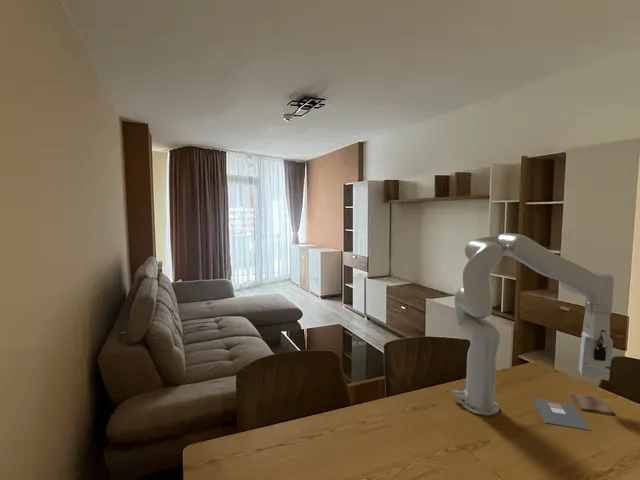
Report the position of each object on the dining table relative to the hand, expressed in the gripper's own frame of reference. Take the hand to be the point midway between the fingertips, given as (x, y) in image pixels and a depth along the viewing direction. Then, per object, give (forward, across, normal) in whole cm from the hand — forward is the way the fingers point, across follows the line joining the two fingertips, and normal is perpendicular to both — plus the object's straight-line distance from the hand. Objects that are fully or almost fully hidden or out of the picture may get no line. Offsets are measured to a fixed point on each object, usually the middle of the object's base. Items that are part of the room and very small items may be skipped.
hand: (595, 355), depth 126 cm
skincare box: (+8, 0, 0) cm, 8 cm away
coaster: (+19, 0, 0) cm, 19 cm away
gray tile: (+19, +10, -13) cm, 25 cm away
